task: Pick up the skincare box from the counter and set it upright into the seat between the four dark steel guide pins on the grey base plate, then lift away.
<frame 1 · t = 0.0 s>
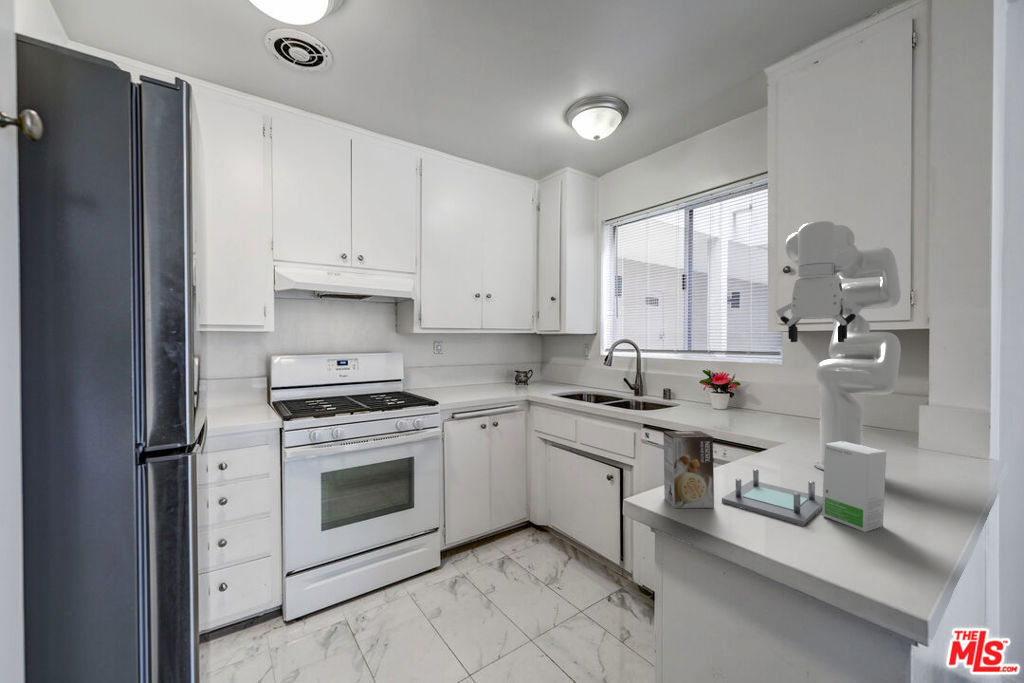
hand: (816, 342, 103), 37 cm above the worktop, tool pointing down, fingers open, 9 cm apart
skincare box: (853, 522, 85), on the worktop
coffee box: (688, 503, 96), on the worktop
guide pins: (774, 489, 95), on the grey base plate, point 3 cm above the worktop
grey base plate: (774, 502, 95), on the worktop
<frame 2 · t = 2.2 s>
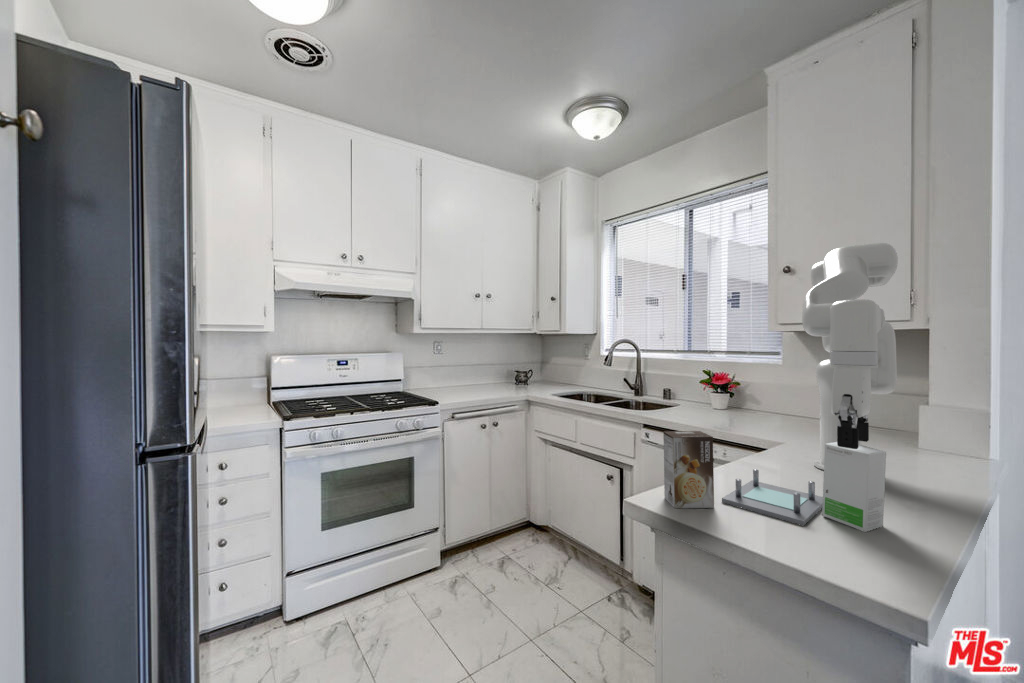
hand: (853, 443, 85), 16 cm above the worktop, tool pointing down, fingers open, 9 cm apart
nothing on the worktop moved.
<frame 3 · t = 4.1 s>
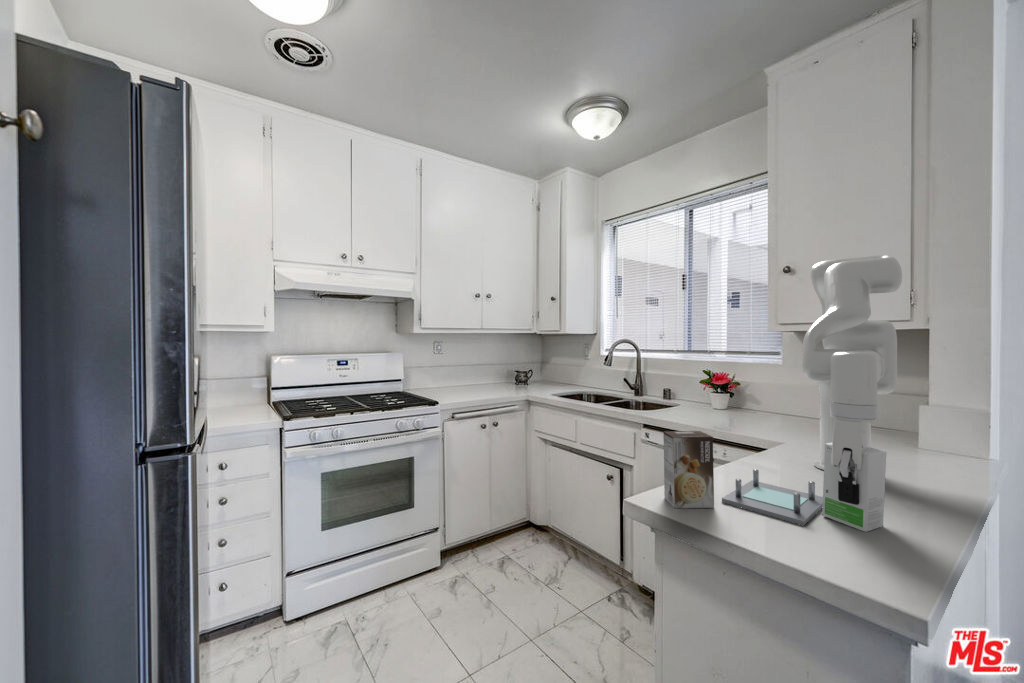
hand: (853, 496, 85), 5 cm above the worktop, tool pointing down, fingers closed on skincare box, 7 cm apart
skincare box: (853, 522, 85), on the worktop, touching gripper
everything else where it was.
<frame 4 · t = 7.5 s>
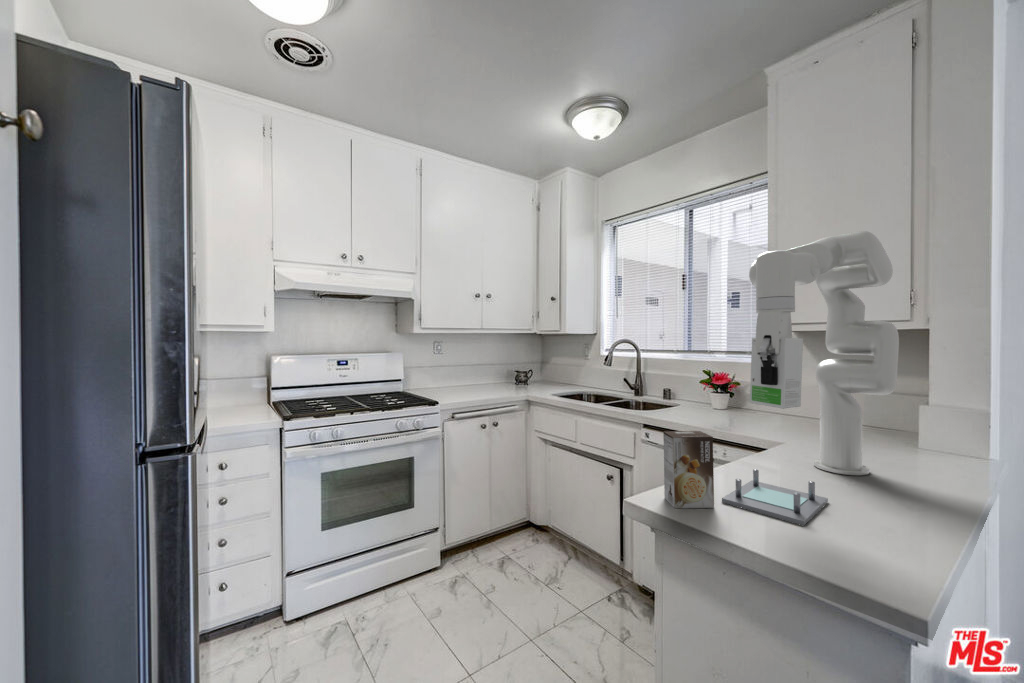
hand: (775, 382, 95), 28 cm above the worktop, tool pointing down, fingers closed on skincare box, 7 cm apart
skincare box: (775, 405, 95), point 22 cm above the worktop, touching gripper
everything else where it was.
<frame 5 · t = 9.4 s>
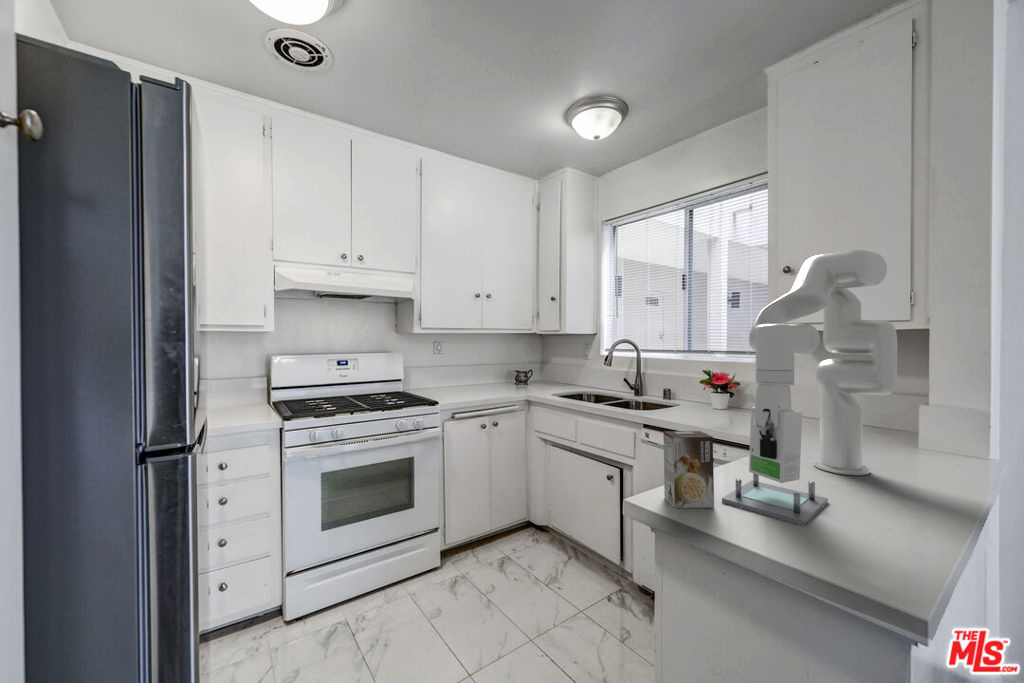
hand: (774, 453, 95), 11 cm above the worktop, tool pointing down, fingers closed on skincare box, 7 cm apart
skincare box: (774, 476, 95), point 6 cm above the worktop, touching gripper
everything else where it was.
when the fingers open (7 cm above the worktop, at t = 10.9 s): skincare box stays where it is, resting on grey base plate.
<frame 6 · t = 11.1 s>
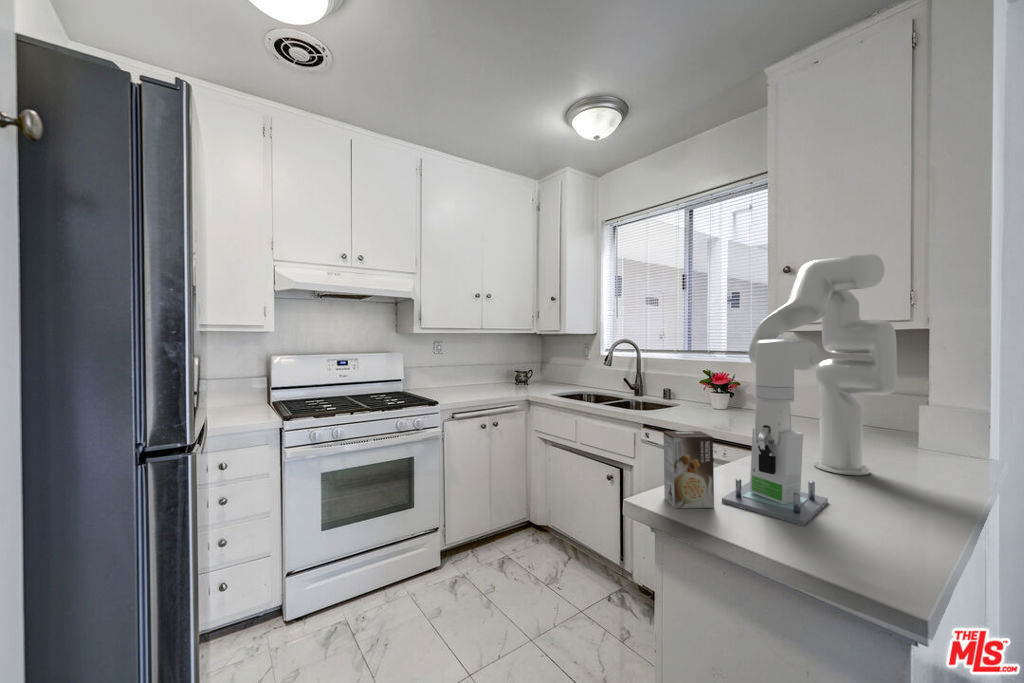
hand: (774, 468, 95), 8 cm above the worktop, tool pointing down, fingers open, 9 cm apart
skincare box: (775, 497, 96), point 1 cm above the worktop, touching grey base plate
everything else where it was.
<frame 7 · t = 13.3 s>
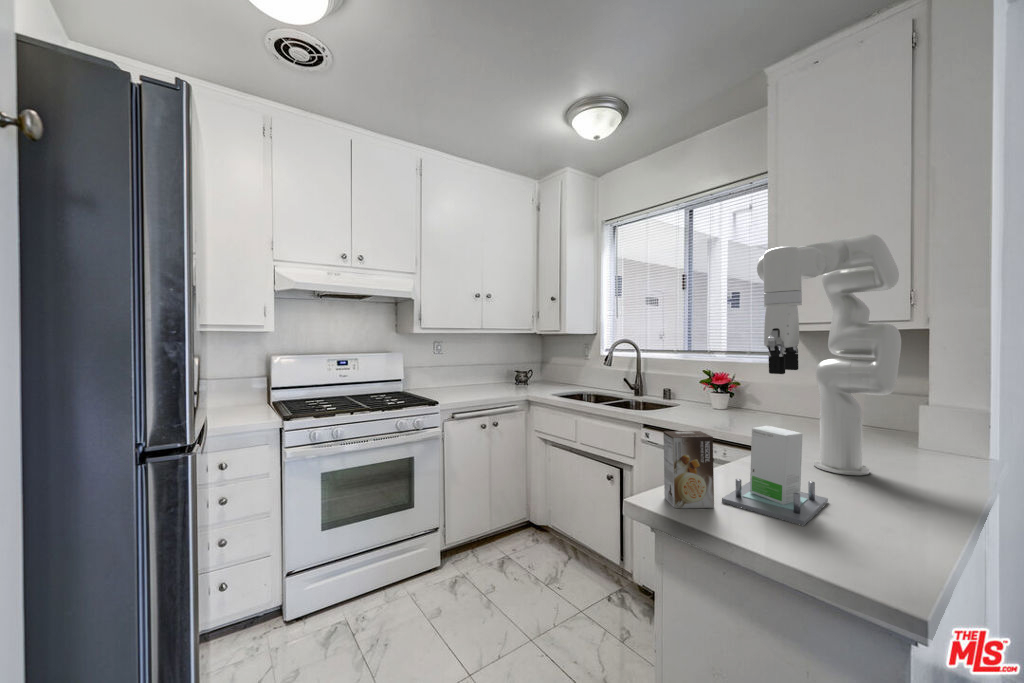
hand: (784, 371, 99), 30 cm above the worktop, tool pointing down, fingers open, 9 cm apart
nothing on the worktop moved.
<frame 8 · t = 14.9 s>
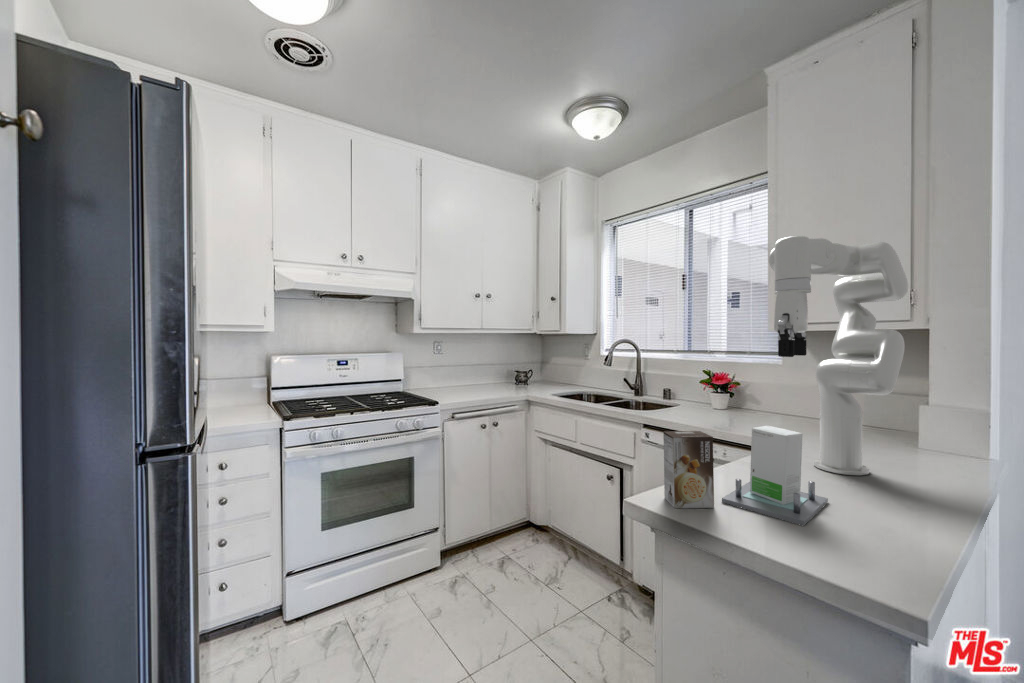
hand: (792, 356, 104), 33 cm above the worktop, tool pointing down, fingers open, 9 cm apart
nothing on the worktop moved.
at the end: skincare box 0.5 cm off-centre on the grey base plate, point 1.0 cm above the grey base plate's base; skincare box tilted 0°; the gripper is holding nothing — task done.
